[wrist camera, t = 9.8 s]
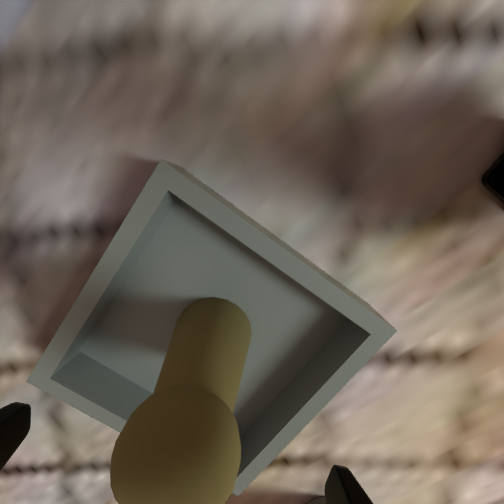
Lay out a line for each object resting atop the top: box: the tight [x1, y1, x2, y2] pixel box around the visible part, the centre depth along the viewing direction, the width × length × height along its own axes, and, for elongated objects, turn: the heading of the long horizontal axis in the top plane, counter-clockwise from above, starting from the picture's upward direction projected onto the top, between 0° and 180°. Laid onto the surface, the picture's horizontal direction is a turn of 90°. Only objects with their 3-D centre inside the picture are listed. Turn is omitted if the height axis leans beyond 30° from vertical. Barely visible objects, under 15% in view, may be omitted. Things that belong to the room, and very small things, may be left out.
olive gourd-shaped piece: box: [110, 297, 252, 504], centre depth 14 cm, size 6×6×11 cm
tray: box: [26, 159, 397, 496], centre depth 18 cm, size 18×18×4 cm
